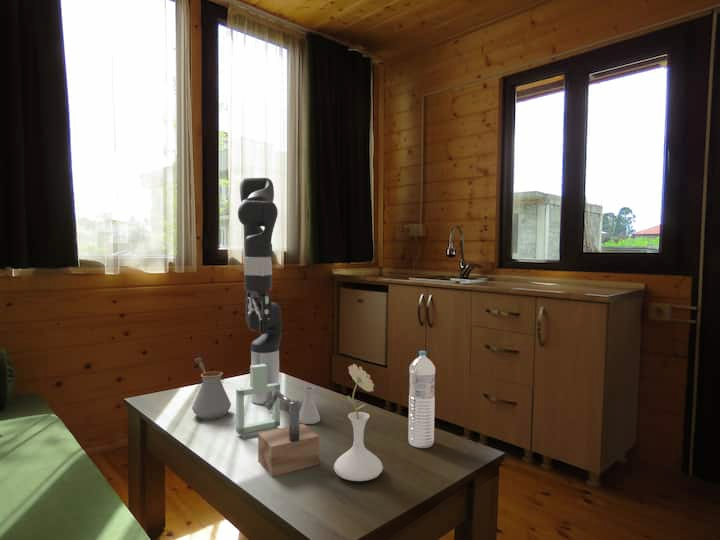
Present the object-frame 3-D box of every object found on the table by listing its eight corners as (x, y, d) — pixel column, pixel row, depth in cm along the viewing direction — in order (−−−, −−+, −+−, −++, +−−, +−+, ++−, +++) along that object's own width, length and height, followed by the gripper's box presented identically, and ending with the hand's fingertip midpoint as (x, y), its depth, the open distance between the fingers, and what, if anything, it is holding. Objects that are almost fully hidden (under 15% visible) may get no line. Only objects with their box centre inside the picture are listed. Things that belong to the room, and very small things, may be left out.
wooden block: (258, 461, 114) (258, 432, 114) (303, 450, 121) (303, 423, 120) (271, 476, 107) (271, 446, 106) (318, 464, 113) (318, 436, 112)
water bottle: (418, 436, 130) (420, 347, 129) (439, 443, 125) (440, 351, 124) (403, 443, 125) (404, 351, 124) (423, 451, 121) (425, 355, 119)
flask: (316, 426, 137) (316, 392, 136) (293, 424, 138) (293, 390, 138) (323, 417, 144) (323, 385, 143) (301, 415, 145) (301, 383, 145)
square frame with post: (234, 433, 131) (234, 366, 130) (275, 425, 137) (275, 361, 136) (240, 439, 127) (240, 370, 126) (281, 431, 133) (282, 365, 132)
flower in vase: (389, 482, 105) (391, 372, 103) (340, 489, 101) (341, 376, 100) (371, 457, 117) (373, 358, 116) (327, 462, 114) (327, 361, 112)
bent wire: (260, 414, 126) (260, 381, 126) (269, 412, 128) (269, 380, 127) (291, 442, 109) (291, 404, 108) (301, 440, 110) (301, 402, 109)
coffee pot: (236, 417, 143) (236, 368, 142) (197, 424, 137) (197, 374, 136) (215, 397, 161) (215, 354, 160) (180, 403, 154) (180, 359, 154)
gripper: (237, 272, 134) (237, 328, 135) (253, 275, 122) (253, 336, 122) (262, 271, 138) (262, 326, 138) (280, 274, 125) (280, 334, 126)
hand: (258, 331), depth 130 cm, fingers open, 8 cm apart
